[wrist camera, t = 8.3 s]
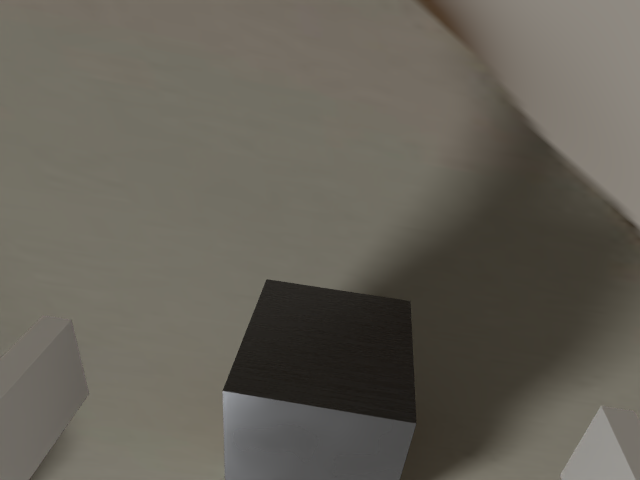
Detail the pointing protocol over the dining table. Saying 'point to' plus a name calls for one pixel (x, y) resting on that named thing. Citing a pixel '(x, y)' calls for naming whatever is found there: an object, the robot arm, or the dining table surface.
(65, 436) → the dining table surface
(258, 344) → the steel shaft
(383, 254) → the dining table surface
